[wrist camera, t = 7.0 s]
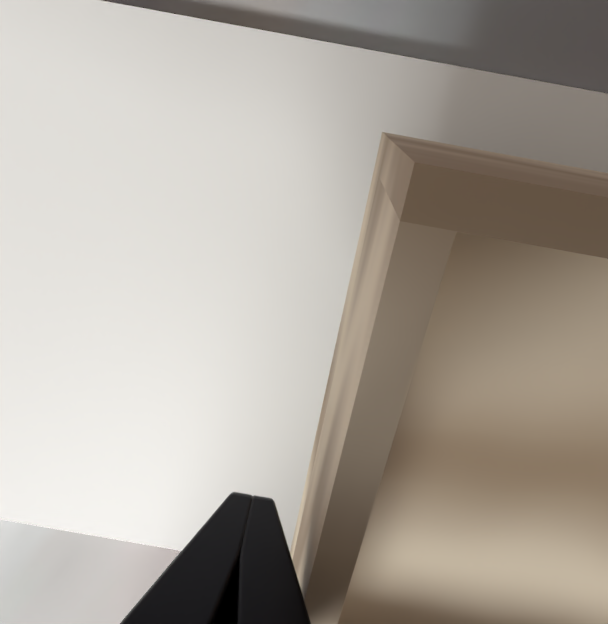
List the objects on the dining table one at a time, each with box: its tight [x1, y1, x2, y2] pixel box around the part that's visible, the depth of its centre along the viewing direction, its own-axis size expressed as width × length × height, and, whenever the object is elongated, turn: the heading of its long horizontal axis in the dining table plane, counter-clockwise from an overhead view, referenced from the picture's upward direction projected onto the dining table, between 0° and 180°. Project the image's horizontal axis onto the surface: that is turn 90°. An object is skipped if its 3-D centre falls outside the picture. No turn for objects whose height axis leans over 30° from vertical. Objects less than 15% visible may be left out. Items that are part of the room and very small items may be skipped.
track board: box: [0, 0, 608, 551], centre depth 14 cm, size 16×30×1 cm, turn 81°
